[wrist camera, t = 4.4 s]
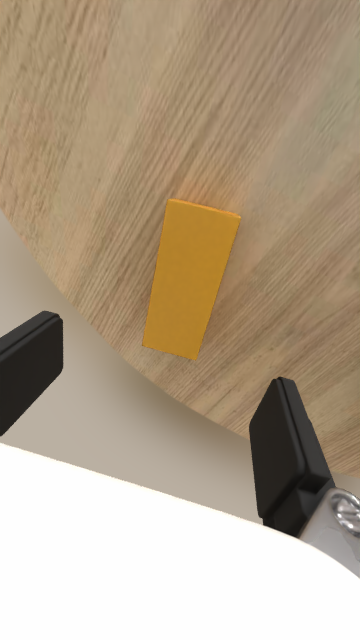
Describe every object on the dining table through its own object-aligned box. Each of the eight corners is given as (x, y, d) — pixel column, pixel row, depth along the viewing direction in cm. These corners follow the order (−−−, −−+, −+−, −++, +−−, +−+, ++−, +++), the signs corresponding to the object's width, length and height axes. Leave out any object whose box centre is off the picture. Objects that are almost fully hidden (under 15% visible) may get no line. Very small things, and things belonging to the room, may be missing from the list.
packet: (198, 342, 24) (196, 360, 22) (150, 329, 24) (141, 345, 22) (238, 214, 19) (241, 217, 16) (175, 198, 19) (167, 198, 16)
